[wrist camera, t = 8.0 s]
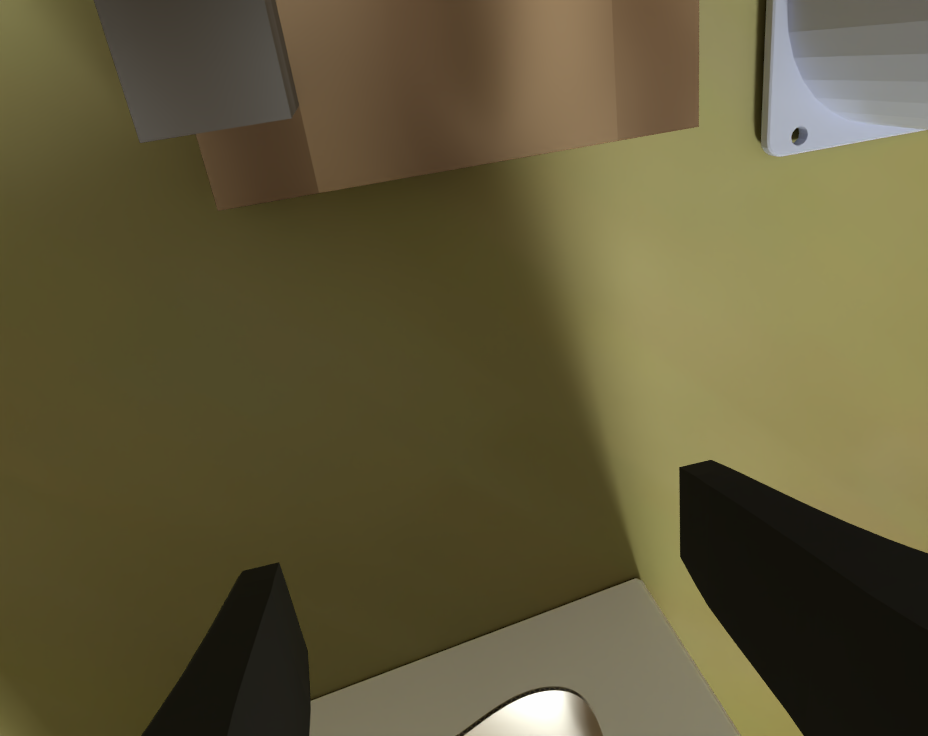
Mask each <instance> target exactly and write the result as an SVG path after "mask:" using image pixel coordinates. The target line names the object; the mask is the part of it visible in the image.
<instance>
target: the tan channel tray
mask: <svg viewBox="0 0 928 736" xmlns="http://www.w3.org/2000/svg"><path fill="white" fill-rule="evenodd" d="M94 3H95V6H96V9H97V12H98V15H99V18H100V21H101V24H102V27H103V30H104V33H105V37H106V40H107V43H108V46H109V49H110V52H111V55H112V58H113V61H114V64H115V67H116V71H117V74H118V77H119V80H120V83H121V86H122V89H123V92H124V95H125V98H126V101H127V104H128V108H129V111H130V114H131V117H132V120H133V123H134V126H135V129H136V132H137V135H138V138H139V142H140V143H143V142H149V141H155V140H161V139H168V138H174V137H180V136H186V135H192V134H196V137H197V141H198V144H199V148H200V151H201V155H202V158H203V161H204V165H205V168H206V172H207V175H208V179H209V182H210V186H211V189H212V192H213V196H214V199H215V203H216V206H217V210H218V211H220V210H226V209H232V208H237V207H243V206H249V205H254V204H260V203H266V202H272V201H277V200H283V199H289V198H294V197H300V196H306V195H311V194H317V193H323V192H329V191H334V190H340V189H346V188H351V187H357V186H363V185H368V184H374V183H380V182H386V181H391V180H397V179H403V178H408V177H414V176H420V175H426V174H431V173H437V172H443V171H448V170H454V169H460V168H465V167H471V166H477V165H483V164H488V163H494V162H500V161H505V160H511V159H517V158H522V157H528V156H534V155H540V154H545V153H551V152H557V151H562V150H568V149H574V148H579V147H585V146H591V145H597V144H602V143H608V142H614V141H619V140H625V139H631V138H637V137H642V136H648V135H654V134H659V133H665V132H671V131H676V130H682V129H688V128H694V127H699V0H94Z"/></svg>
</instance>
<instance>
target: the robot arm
mask: <svg viewBox="0 0 928 736" xmlns="http://www.w3.org/2000/svg"><path fill="white" fill-rule="evenodd" d="M796 128H798V129H799V136H798V139H797V140H796V141H795V142H794V143H792V140H791V136H792V132H793V131H794V130H795V129H796ZM923 130H928V0H767V2H766V27H765V52H764V77H763V102H762V127H761V145H762V148H763V150H764V151H765V152H766V153H767V154H769V155H772V156H787V155H792V154H797V153H803V152H808V151H814V150H819V149H825V148H830V147H836V146H841V145H846V144H852V143H857V142H863V141H868V140H874V139H879V138H885V137H890V136H895V135H901V134H906V133H912V132H917V131H923ZM679 471H680V557H681V559H682V561H683V563H684V564H685V566H686V568H687V570H688V572H689V574H690V575H691V577H692V579H693V581H694V583H695V584H696V586H697V588H698V590H699V591H700V593H701V595H702V596H703V598H704V600H705V602H706V603H707V605H708V606H709V608H710V609H711V611H712V612H713V613H714V615H715V616H716V617H717V619H718V620H719V622H720V623H721V624H722V626H723V627H724V628H725V630H726V631H727V632H728V634H729V635H730V636H731V638H732V639H733V640H734V642H735V643H736V644H737V646H738V647H739V648H740V650H741V651H742V652H743V654H744V655H745V656H746V658H747V659H748V660H749V662H750V663H751V664H752V666H753V667H754V668H755V670H756V671H757V672H758V674H759V675H760V676H761V678H762V679H763V680H764V682H765V683H766V684H767V686H768V687H769V688H770V690H771V691H772V692H773V694H774V695H775V696H776V698H777V699H778V700H779V701H780V703H781V704H782V705H783V707H784V708H785V709H786V711H787V712H788V714H789V715H790V717H791V718H792V719H793V721H794V722H795V724H796V725H797V727H798V728H799V730H800V731H801V732H802V734H803V735H804V736H928V553H925V552H922V551H919V550H916V549H913V548H911V547H908V546H905V545H902V544H900V543H897V542H894V541H892V540H889V539H886V538H884V537H882V536H879V535H877V534H874V533H872V532H869V531H867V530H864V529H862V528H859V527H857V526H854V525H852V524H850V523H847V522H845V521H843V520H840V519H838V518H836V517H833V516H831V515H829V514H827V513H824V512H822V511H820V510H818V509H815V508H813V507H811V506H809V505H807V504H805V503H802V502H800V501H798V500H796V499H794V498H792V497H790V496H788V495H785V494H783V493H781V492H779V491H777V490H775V489H773V488H771V487H769V486H767V485H765V484H762V483H760V482H758V481H756V480H754V479H752V478H750V477H748V476H746V475H744V474H742V473H740V472H737V471H735V470H733V469H731V468H729V467H727V466H724V465H722V464H720V463H717V462H715V461H713V460H708V461H704V462H700V463H696V464H691V465H687V466H683V467H679ZM310 715H311V703H310V681H309V664H308V650H307V647H306V644H305V641H304V638H303V635H302V632H301V629H300V626H299V622H298V619H297V616H296V613H295V610H294V607H293V604H292V601H291V598H290V594H289V591H288V588H287V585H286V582H285V579H284V576H283V573H282V570H281V566H280V563H275V564H270V565H266V566H262V567H258V568H254V569H249V570H245V571H243V572H242V573H241V574H240V576H239V577H238V579H237V580H236V582H235V584H234V586H233V588H232V589H231V591H230V593H229V595H228V597H227V599H226V600H225V602H224V604H223V606H222V608H221V610H220V611H219V613H218V615H217V617H216V618H215V620H214V622H213V624H212V626H211V627H210V629H209V631H208V633H207V634H206V636H205V638H204V639H203V641H202V643H201V644H200V646H199V648H198V649H197V651H196V653H195V654H194V656H193V658H192V659H191V661H190V663H189V664H188V666H187V668H186V669H185V671H184V673H183V674H182V676H181V677H180V679H179V680H178V682H177V684H176V685H175V687H174V688H173V690H172V691H171V693H170V694H169V696H168V697H167V699H166V700H165V702H164V703H163V705H162V706H161V708H160V709H159V710H158V712H157V713H156V715H155V716H154V718H153V719H152V721H151V722H150V724H149V725H148V727H147V728H146V730H145V731H144V732H143V734H142V735H141V736H309V732H310Z"/></svg>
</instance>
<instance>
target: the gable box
mask: <svg viewBox="0 0 928 736" xmlns="http://www.w3.org/2000/svg"><path fill="white" fill-rule="evenodd" d="M310 703H311V715H310V732H309V736H741V735H740V733H739V731H738V730H737V728H736V727H735V725H734V724H733V722H732V720H731V719H730V717H729V716H728V714H727V713H726V711H725V709H724V708H723V706H722V705H721V703H720V702H719V700H718V699H717V697H716V695H715V694H714V692H713V691H712V689H711V688H710V686H709V684H708V683H707V681H706V680H705V678H704V677H703V675H702V673H701V672H700V670H699V669H698V667H697V666H696V664H695V662H694V661H693V659H692V658H691V656H690V655H689V653H688V651H687V650H686V648H685V647H684V645H683V644H682V642H681V640H680V639H679V637H678V636H677V634H676V633H675V631H674V629H673V628H672V626H671V625H670V623H669V622H668V620H667V618H666V617H665V615H664V614H663V612H662V611H661V609H660V607H659V606H658V604H657V603H656V601H655V600H654V598H653V597H652V595H651V593H650V592H649V590H648V589H647V587H646V586H645V584H644V582H643V581H642V580H639V579H637V578H635V579H632V580H630V581H627V582H624V583H622V584H619V585H617V586H614V587H611V588H609V589H606V590H603V591H601V592H598V593H595V594H593V595H590V596H587V597H585V598H582V599H579V600H577V601H574V602H571V603H569V604H566V605H564V606H561V607H558V608H556V609H553V610H550V611H548V612H545V613H542V614H540V615H537V616H534V617H532V618H529V619H526V620H524V621H521V622H518V623H516V624H513V625H511V626H508V627H505V628H503V629H500V630H497V631H495V632H492V633H489V634H487V635H484V636H481V637H479V638H476V639H473V640H471V641H468V642H465V643H463V644H460V645H458V646H455V647H452V648H450V649H447V650H444V651H442V652H439V653H436V654H434V655H431V656H428V657H426V658H423V659H420V660H418V661H415V662H412V663H410V664H407V665H405V666H402V667H399V668H397V669H394V670H391V671H389V672H386V673H383V674H381V675H378V676H375V677H373V678H370V679H367V680H365V681H362V682H359V683H357V684H354V685H352V686H349V687H346V688H344V689H341V690H338V691H336V692H333V693H330V694H328V695H325V696H322V697H320V698H317V699H314V700H312V701H310Z"/></svg>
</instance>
